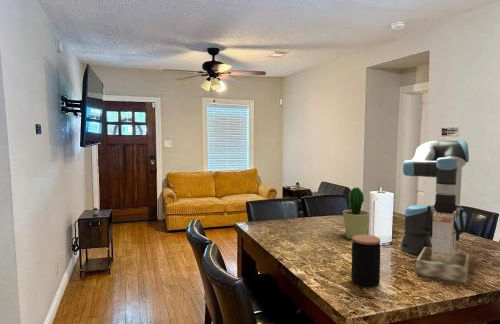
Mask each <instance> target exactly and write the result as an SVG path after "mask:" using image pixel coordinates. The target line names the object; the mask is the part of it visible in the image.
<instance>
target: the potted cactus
mask: <svg viewBox="0 0 500 324" xmlns="http://www.w3.org/2000/svg"><path fill="white" fill-rule="evenodd" d="M348 200H349V201H348V204H350V205H349V207H350V209H346V210H343V211H342V214H343V222H344V229H345V237H346V238H347V239H350V240H352V237H353V236H355V235H368V231H369V224H370V219H369V212H370V211H367V210H362V209H363V208H362V207H363V203H364V202H365V197H364V192H363V189H361V188H360V187H353V188H352V189H351V190H349V198H348Z"/></svg>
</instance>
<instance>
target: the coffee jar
mask: <svg viewBox="0 0 500 324" xmlns="http://www.w3.org/2000/svg"><path fill="white" fill-rule="evenodd" d="M351 240H352V243H351V277H350V278H351V280H352V282H353V284H355V285H357V286H358V287H361V288H366V289H367V288H369V289H370V288H372V289H373V288H376V287H377V286H379V284H380V283H381V282H380V281H381V278H380V277H381V244H380V243H381V238H379V237H377V236H375V235H371V234H370V235H369V234H367V235H355V236H353V237H352V239H351Z"/></svg>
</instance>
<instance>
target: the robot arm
mask: <svg viewBox="0 0 500 324" xmlns="http://www.w3.org/2000/svg"><path fill="white" fill-rule="evenodd" d="M414 154H415V155H414V157H413V158H412V159H410V160H408V159H406V160H404V161H403V165H402V173H403V175H404V176H406V177H407V176H409V177H424V178H425V177H427V178H436V180H435V181H436V182H435V197H434V198H435V199H434V200H435V201H434V202H435V203H434V204H433V205H427V204H415V205H409V206H407V207H406V208H405V211H404V234H403V237H402V240H401V242H400V251H402V252H404V253H408V254H412V255H417V256H419V255H420V253H421V251H422V250H423V248H424V247H429V248H432V241H431V239H432V231H433V214H434V213H435V212H436V211H437V212H440V213H441V212H443V213H449V214H452V213H453V212H454V211H456V221H455V218H454V229H455V231H456V232H454V243H453V248H454V249H455V250H456V248H457V242H460V236H462V235H463V234H464V233H465V228H466V227H465V225H466V222H467V211H466V212H465V211H464V210H465V208H463V207H462V206H461V193H462V192H461V191H462V176H463V175H462V171H463V167H465V166H466V163H469V161H470V155H469V154H470V153H469V146H468V142H467V141H465V140H431V141H427V142H425V143H422V144H421V145H420V146H418V147H417V148H416V149H415V153H414Z"/></svg>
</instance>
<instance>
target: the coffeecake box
mask: <svg viewBox="0 0 500 324" xmlns="http://www.w3.org/2000/svg"><path fill="white" fill-rule="evenodd" d="M454 218H455V221H456V211H454V212H453V213H452V214H449V213H443V212H441V213H440V212H437V211H436V212H435V213H434V214H433V231H432V237H431V239H432V241H431V243H432V260H437V261H443V262H447V263H450V261H451V260H452V258H453V256H454V255H455V252H456V248H455V249H454V248H453V243H454V232H456V231H455V229H454Z"/></svg>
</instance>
